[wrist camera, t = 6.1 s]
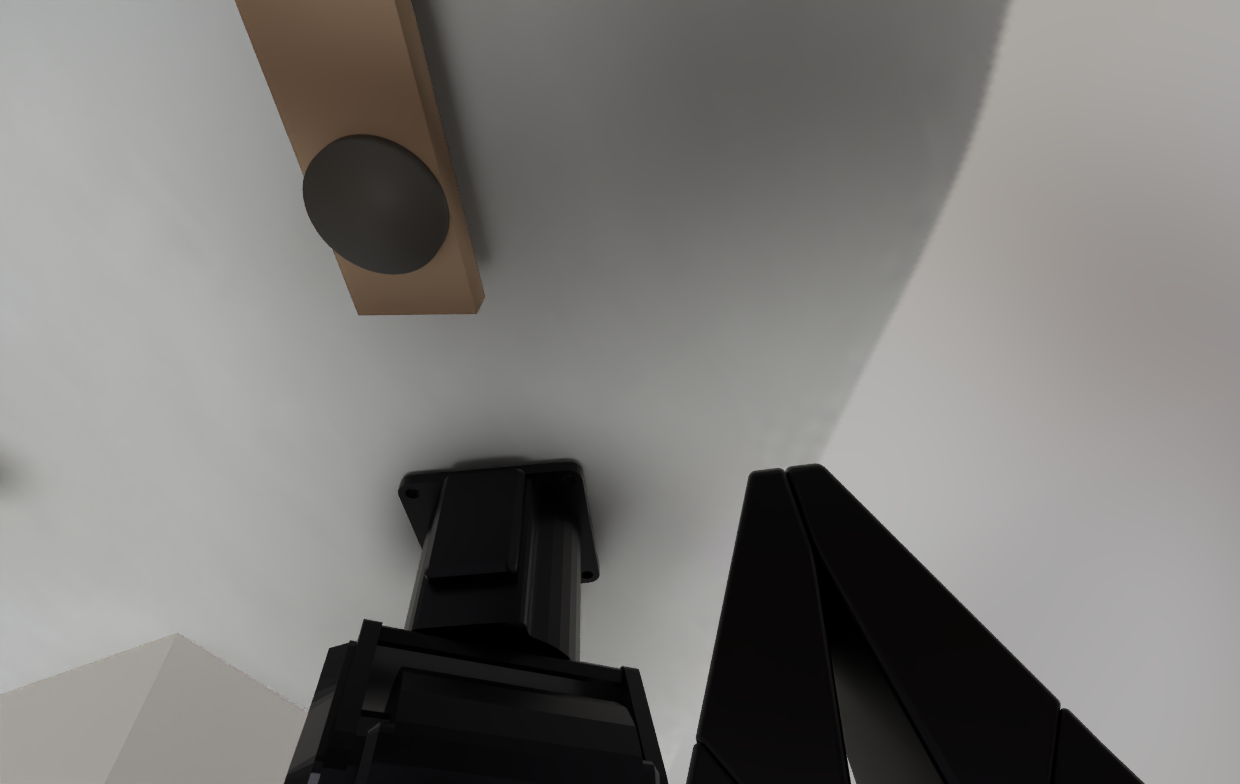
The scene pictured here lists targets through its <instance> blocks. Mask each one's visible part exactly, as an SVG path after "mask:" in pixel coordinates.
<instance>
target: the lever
mask: <svg viewBox="0 0 1240 784" xmlns="http://www.w3.org/2000/svg"><path fill="white" fill-rule="evenodd" d="M235 2H236V5H237V7H238V10H239V12H240V15H241V17H242V20H243V23H244V25H245V28H246V30H247V33H248V35H249V38H250V40H251V43H252V45H253V48H254V51H255V53H256V56H257V58H258V61H259V63H260V66H261V68H262V71H263V73H264V76H265V79H266V81H267V84H268V86H269V89H270V91H271V94H272V96H273V99H274V101H275V104H276V107H277V109H278V112H279V114H280V117H281V119H282V122H283V124H284V127H285V129H286V132H287V135H288V137H289V140H290V142H291V145H292V147H293V150H294V152H295V155H296V157H297V160H298V163H299V165H300V168H301V170H302V173H303V175H304V180H303V198H304V203H305V207H306V210H307V213H308V216H309V218H310V220H311V222H312V224H313V226H314V227H315V229H316V230H317V232H318V233H319V235H320V236H321V237H322V239H323V240H324V241H325V242H326V243H327V244H328V245H329V246H330V247H331V248H332V249H333V252H334V254H335V257H336V259H337V262H338V264H339V267H340V270H341V272H342V275H343V277H344V280H345V282H346V285H347V287H348V290H349V292H350V295H351V298H352V300H353V303H354V305H355V308H356V310H357V313H358V315H419V314H477V312H478V310H479V308H480V306H481V304H482V302H483V300H484V298H485V295H484V291H483V287H482V283H481V279H480V275H479V271H478V266H477V262H476V258H475V254H474V250H473V246H472V242H471V238H470V234H469V230H468V226H467V222H466V218H465V214H464V210H463V206H462V202H461V198H460V194H459V190H458V186H457V182H456V178H455V174H454V170H453V166H452V162H451V158H450V154H449V150H448V146H447V142H446V138H445V134H444V130H443V126H442V122H441V118H440V114H439V110H438V106H437V102H436V98H435V94H434V90H433V86H432V82H431V78H430V74H429V70H428V66H427V62H426V58H425V54H424V50H423V46H422V42H421V38H420V34H419V30H418V26H417V22H416V18H415V14H414V10H413V6H412V2H411V0H235Z"/></svg>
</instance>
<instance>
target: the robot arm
mask: <svg viewBox="0 0 1240 784" xmlns="http://www.w3.org/2000/svg"><path fill="white" fill-rule="evenodd" d="M566 475H570V476H572V477H565V476H566ZM412 489H415V490H412ZM398 495H399V497H400V500H401V502H402V504H403V506H404V509H405V511H406V513H407V516H408V518H409V520H410V523H411V525H412V527H413V530H414V532H415V534H416V536H417V539H418V541H419V543H420V546H421V548H422V554H421V558H420V563H419V567H418V571H417V576H416V580H415V584H414V589H413V593H412V597H411V601H410V606H409V610H408V614H407V619H406V623H405V627H404V629H398V628H393V627H387V626H382V622H378V621H372V620H367V619H364V621H363V624H362V627H361V630H360V634H359V637H358V640H357V641H351V640H350V642H349V643H346V644H343V645H339V646H336V647H332V648H329V650H328V653H327V657H326V660H325V663H324V666H323V669H322V672H321V675H320V679H319V682H318V685H317V688H316V691H315V694H314V697H313V700H312V703H311V706H310V709H309V712H308V715H307V718H306V721H305V723H304V726H303V729H302V732H301V735H300V738H299V741H298V743H297V746H296V749H295V752H294V755H293V758H292V761H291V763H290V766H289V769H288V772H287V775H286V778H285V781H284V784H668V780H667V775H666V771H665V768H664V764H663V760H662V756H661V752H660V748H659V745H658V741H657V737H656V733H655V729H654V725H653V722H652V718H651V714H650V710H649V706H648V702H647V699H646V695H645V691H644V687H643V683H642V679H641V676H640V672H639V669H635V668H630V667H624V666H622V667H621V668H620V669H619V668H614V667H608V666H603V665H597V664H591V663H586V662H580V603H581V583H589V582H593V581H595V580H597V579H598V578H599V561H598V555H597V550H596V544H595V538H594V533H593V527H592V521H591V516H590V510H589V505H588V499H587V493H586V488H585V482H584V477H583V471H582V469H581V467H580V466H579V465H577V464H575V463H572V462H562V463H550V464H539V465H527V466H516V467H504V468H493V469H481V470H470V471H458V472H447V473H435V474H424V475H412V476H407V477H405V478H403V479H402V481H401V483H400V486H399V489H398ZM1060 706H1061V705H1060V702H1059V700H1058V699H1057V698H1056V697H1055V696H1054V695H1053V694H1052V693H1051V692H1050V691H1049V690H1048V689H1047V688H1046V687H1045V686H1044V685H1043V684H1042V683H1041V682H1040V681H1039V680H1038V679H1037V678H1036V677H1035V676H1034V675H1033V674H1032V673H1031V672H1030V671H1029V670H1028V669H1027V668H1026V667H1025V666H1024V665H1023V664H1022V663H1021V662H1020V661H1019V660H1018V659H1017V658H1016V657H1015V656H1014V655H1013V654H1012V653H1011V652H1010V651H1009V650H1008V649H1007V648H1006V647H1005V646H1004V645H1003V644H1002V643H1001V642H1000V641H999V640H998V639H997V638H996V637H995V636H994V635H993V634H992V633H991V632H990V631H989V630H988V629H987V628H986V627H985V626H984V625H982V623H981V622H980V621H979V620H978V619H977V618H976V617H974V615H973V614H972V613H971V612H970V611H969V610H968V609H967V608H965V606H964V605H963V604H962V603H960V602H959V600H958V599H957V598H956V597H955V596H954V595H952V593H951V592H950V591H948V589H946V587H945V586H944V585H943V584H942V583H941V582H940V581H938V580H937V578H936V577H934V575H933V574H932V573H930V571H929V570H928V569H927V568H926V567H925V566H923V565H922V563H920V562H919V561H918V560H917V559H916V558H915V557H914V556H913V555H912V554H911V553H910V552H909V551H908V550H907V549H906V548H905V547H904V546H903V545H902V544H901V543H900V542H899V541H898V540H897V539H896V538H895V537H894V536H893V535H892V534H891V533H890V532H889V531H888V530H887V529H886V528H885V527H884V526H883V525H882V524H881V523H880V522H879V521H878V520H877V519H876V518H875V517H874V516H873V515H872V514H871V513H870V512H869V511H868V510H867V509H866V508H865V507H864V506H863V505H862V504H861V503H860V502H859V501H858V500H857V499H856V498H855V497H854V496H853V495H852V494H851V493H850V492H849V491H848V490H847V489H846V488H845V487H844V486H843V485H842V484H841V483H840V482H839V481H838V480H837V479H836V478H835V477H834V476H833V475H832V474H831V473H830V472H829V471H828V470H827V469H826V468H825V467H823V466H822V465H820V464H807V465H798V466H791V467H789V468H787V469H786V471H784V470H783V469H781V468H774V469H766V470H758V471H753V472H751V473H750V475H749V477H748V482H747V487H746V492H745V497H744V502H743V507H742V512H741V517H740V522H739V527H738V531H737V536H736V541H735V546H734V551H733V556H732V561H731V566H730V571H729V576H728V581H727V586H726V591H725V596H724V601H723V606H722V611H721V616H720V620H719V625H718V630H717V635H716V640H715V645H714V650H713V655H712V660H711V665H710V670H709V675H708V680H707V685H706V690H705V695H704V700H703V705H702V710H701V714H700V719H699V724H698V729H697V735H696V741H697V744H695V745H694V747H693V752H692V757H691V762H690V767H689V772H688V777H687V782H686V784H851V781H850V774H849V768H848V761H847V757H848V760H849V763H850V766H851V769H852V772H853V775H854V778H855V781H856V784H1144V783H1143V782H1142V781H1141V780H1140V779H1139V778H1138V777H1137V776H1136V775H1135V774H1134V773H1133V772H1132V771H1131V770H1130V769H1129V768H1128V767H1127V766H1126V765H1124V764H1123V763H1122V762H1121V761H1120V760H1119V759H1118V758H1117V757H1116V756H1115V755H1114V754H1113V753H1112V752H1111V751H1110V750H1109V749H1108V748H1107V747H1106V746H1105V745H1103V744H1102V743H1101V742H1100V741H1099V740H1098V739H1097V737H1096V736H1095V735H1093V734H1092V732H1090V730H1089V729H1088V728H1086V726H1085V725H1083V724H1082V722H1081V721H1080V720H1078V718H1077V717H1075V715H1074V714H1073V713H1071V711H1069V710H1068V709H1066V708H1063V709H1061V710H1060ZM846 754H847V755H846Z"/></svg>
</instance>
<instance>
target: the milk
mask: <svg viewBox="0 0 1240 784" xmlns="http://www.w3.org/2000/svg"><path fill="white" fill-rule="evenodd" d="M307 715H308V712H306V711H305V710H303V709H302V708H300V707H298V706H297V705H295V704H293V703H292V702H290V701H288V700H287V699H285V698H284V697H282V696H280V695H279V694H277V693H275V692H274V691H272V690H270V689H269V688H267V687H266V686H264V685H262V684H261V683H259V682H257V681H256V680H254V679H252V678H251V677H249V676H248V675H246V674H244V673H243V672H241V671H239V670H238V669H236V668H234V667H233V666H231V665H230V664H228V663H226V662H225V661H223V660H221V659H220V658H218V657H216V656H215V655H213V654H212V653H210V652H208V651H207V650H205V649H203V648H202V647H200V646H198V645H197V644H195V643H194V642H192V641H190V640H189V639H187V638H185V637H184V636H182V635H180V634H179V633H176V634H173V635H170V636H167V637H164V638H162V639H159V640H156V641H153V642H150V643H147V644H144V645H142V646H139V647H136V648H133V649H130V650H127V651H124V652H121V653H119V654H116V655H113V656H110V657H107V658H104V659H101V660H99V661H96V662H93V663H90V664H87V665H84V666H81V667H79V668H76V669H73V670H70V671H67V672H64V673H61V674H58V675H56V676H53V677H50V678H47V679H44V680H41V681H38V682H36V683H33V684H30V685H27V686H24V687H21V688H18V689H15V690H13V691H10V692H7V693H4V694H1V695H0V784H284V781H285V778H286V775H287V772H288V769H289V766H290V763H291V761H292V758H293V755H294V752H295V749H296V746H297V743H298V741H299V738H300V735H301V732H302V729H303V726H304V723H305V721H306V718H307Z"/></svg>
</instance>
